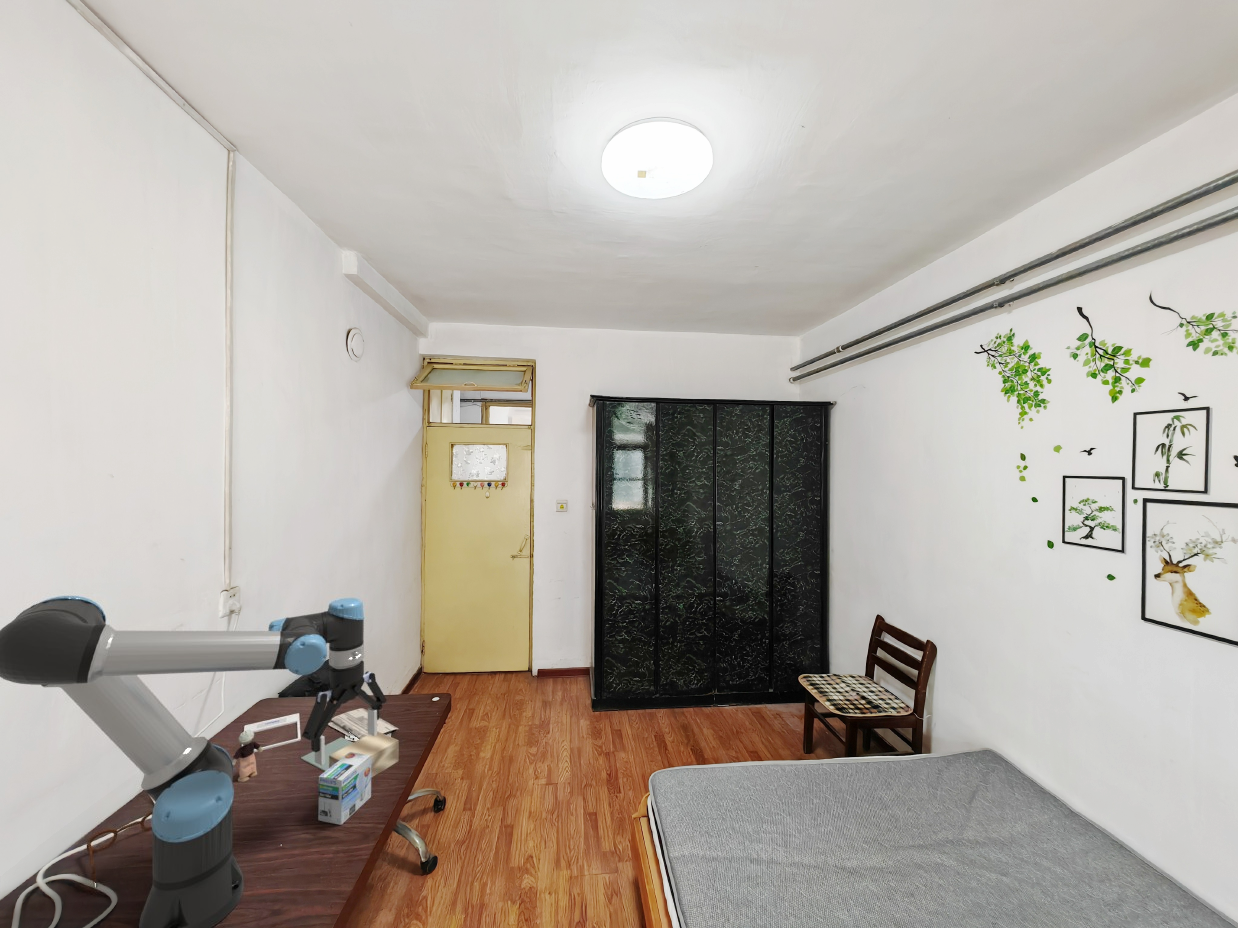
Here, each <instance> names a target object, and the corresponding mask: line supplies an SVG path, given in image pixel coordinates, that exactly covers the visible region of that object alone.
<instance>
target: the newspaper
mask: <svg viewBox="0 0 1238 928" xmlns="http://www.w3.org/2000/svg"><path fill="white" fill-rule="evenodd" d="M327 726H330V727H331V728H333V729H334V730H335V729H336V730H337V731H339V732H341V733H343V734H345V735H346V736H347V737H349V736H350V735H349V732H350V733H351V734H353V735H354V736H355V737H357V738H358V739H361V738H363V737H365V736H367V735H369V734H368V709H365V708H362V707H361V708H357V709H354V710H349V711H346V712H344V713H341V714H338V715H336V716H334V717H332V719H331V720H330V722H329V724H328V725H327ZM395 730H396V731H400V728H398V727H396V726H394V725H393V724H391V723H389V722H388V721H386V720H384V719H382V718H381V717H379V720H377V731H378V732H380V733H383V734H385V733H389V732H392V731H395Z"/></svg>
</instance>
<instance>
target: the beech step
mask: <svg viewBox="0 0 1238 928" xmlns="http://www.w3.org/2000/svg"><path fill="white" fill-rule="evenodd" d="M399 743H400V740H398V739H396V738H394V737H391V736H390V735H387V734H385V733H380V732H378V731H377V735H376V736H372V735H370V734H369V735H367V736H365V737H363V738H361V739H359V740H357V741H354V742H353V743H352V744H350V745H348V746H346V747H344V748H342V749H340V750H338V751H337V752H335V753H333V754H331V755H329V768H330V767H332V766H333V765H334V764H335V763H337V762H338V761H339V760H340V759H342V758H343V757H344V756H345V755H347V754H348V753H349V752H353V753H358V754H364V755H371V779H372V778H373V777H375V776H377V775H378V774H380V773H382V772H383V771H385V770H387V769H389V768H390V767H391V766H393V765H394V764H396V763H398V762H400V761H399V757H400V756H399V755H400V753H399V752H400V751H399V747H400V745H399Z"/></svg>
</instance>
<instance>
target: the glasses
mask: <svg viewBox="0 0 1238 928" xmlns="http://www.w3.org/2000/svg"><path fill="white" fill-rule="evenodd" d="M152 813H153V810H152V811H150V812H148V813H147V814H145V815H144V816H143V817H142V818H141V819H140V820H138V821H137V820H136V821H134V822H131V823H129V824H126V825H124V826H122V827H120V828H119V829H117V828H107V829H104V830H101V831H99V832H97V833H95V834H93V836H92V837H90V839H89V840H88V841H87V844H86V851H87V852H88V853H89V859H90V860H89V861H90V866H91V875H92V879H93V883H94V882H95V883H97V884H98V881H97V876H96V869H95V861H94V855H93V854H97V853H98V852H101V851H103V850H105V849H108V848H110V847H111V846H112V845H114V843H115V842H116V840H117V838H118V835H119V833H120V832H123V831H124V830H127V829H130V828H131V827H134V826H136V825H140V829H142V831H144V832H145V831H146V832H149V831H150V830H153V829H152V827H151V826H145V821H146V820H147V818H149V817H150V816H152ZM107 833H108V834H109V833H112V834H113V838H112V840H111V841H109V843H107V844H105V845H104V846H102V847H99V848H93V847H92V843H93V841H94V840H95V839H96V838H98V837H100V836H101V835H104V834H107Z"/></svg>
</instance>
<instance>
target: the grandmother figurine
mask: <svg viewBox="0 0 1238 928" xmlns="http://www.w3.org/2000/svg"><path fill="white" fill-rule="evenodd" d="M254 738H255V732H254V733H253V732H252V731H251V730H246V731H244V730H243V732H241V733H240V734H239V737H238V741H239V743H240V744H241V746H240V747H239V748H238V749H237V750H236V752H235V753H234V755H233V757H232V759H231V760H232V764H233V767H234V766H235V765H236V763H237V761H238V760H239V770H238V771H239V773H238V775H239V777H237V781H238V782H240V783H241V782H242V783H244V782H247V781H248V780H250V778H251V777H252V778H253V777H256V776H257V775H258V771H257V761H256V756H255V752H254V749H257V753H259V754H261V753H262V752H263V751H264V750H263V749H261V748H262V746H261V744H259V743H258V742H256V741H253V739H254ZM242 745H243V746H242Z"/></svg>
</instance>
